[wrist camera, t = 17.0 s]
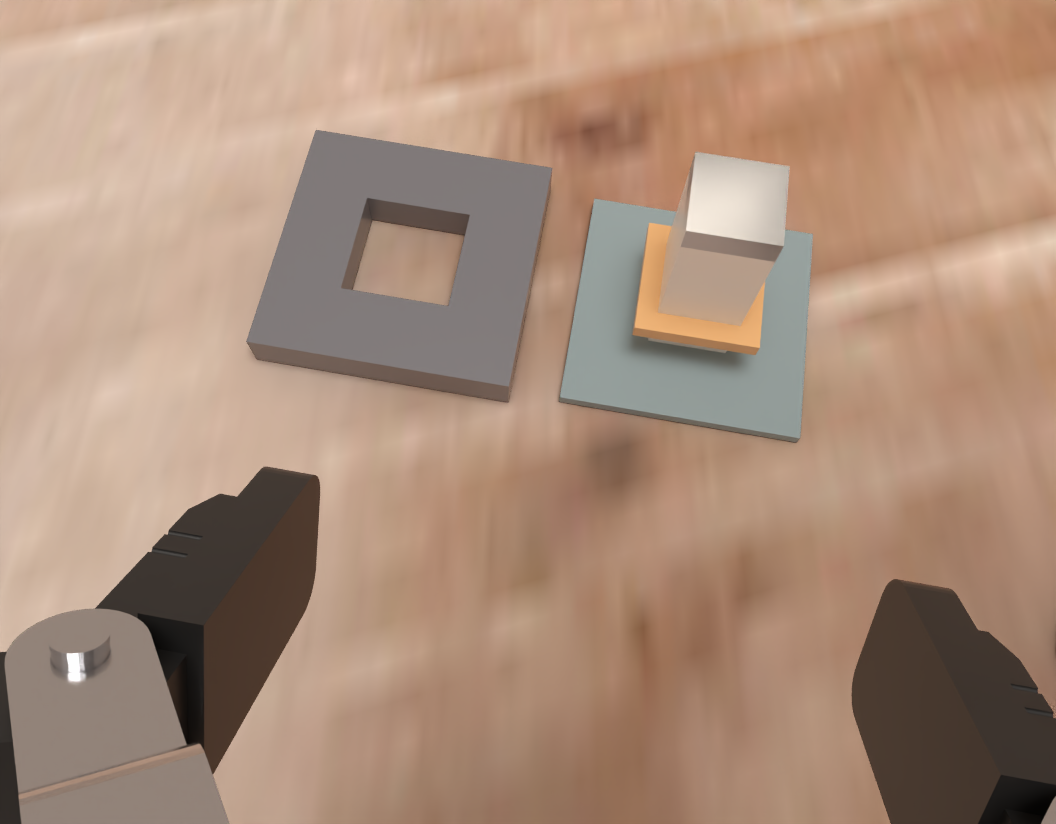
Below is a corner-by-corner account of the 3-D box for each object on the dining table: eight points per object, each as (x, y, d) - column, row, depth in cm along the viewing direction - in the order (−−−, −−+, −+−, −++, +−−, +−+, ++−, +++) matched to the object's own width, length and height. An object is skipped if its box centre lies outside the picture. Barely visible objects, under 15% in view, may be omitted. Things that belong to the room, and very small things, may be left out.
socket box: (550, 190, 49) (552, 167, 47) (508, 402, 44) (508, 386, 43) (322, 153, 50) (315, 129, 48) (256, 359, 45) (246, 341, 43)
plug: (752, 272, 47) (813, 150, 38) (743, 374, 45) (807, 271, 35) (640, 254, 47) (674, 129, 38) (626, 354, 45) (658, 247, 36)
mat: (809, 240, 48) (812, 234, 48) (796, 442, 44) (800, 438, 43) (593, 205, 49) (594, 198, 48) (559, 401, 44) (559, 397, 44)
